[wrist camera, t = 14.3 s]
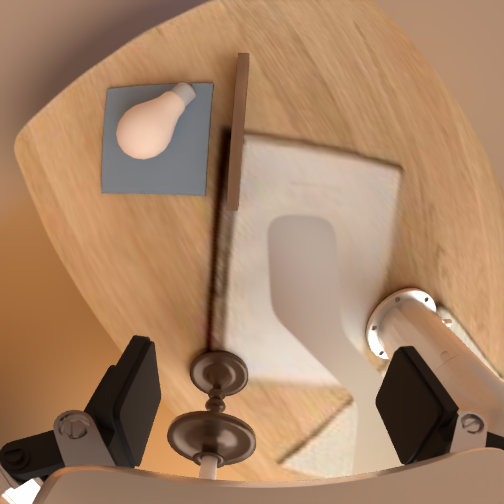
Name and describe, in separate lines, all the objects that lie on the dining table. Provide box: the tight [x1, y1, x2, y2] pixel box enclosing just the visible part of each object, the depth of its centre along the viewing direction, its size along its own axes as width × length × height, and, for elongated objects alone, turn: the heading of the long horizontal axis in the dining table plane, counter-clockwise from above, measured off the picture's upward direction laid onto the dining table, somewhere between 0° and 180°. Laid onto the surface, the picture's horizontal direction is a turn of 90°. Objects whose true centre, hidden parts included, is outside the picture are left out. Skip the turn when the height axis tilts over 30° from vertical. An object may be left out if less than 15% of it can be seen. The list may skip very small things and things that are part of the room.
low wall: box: [226, 53, 249, 211], centre depth 32 cm, size 1×18×4 cm, turn 176°
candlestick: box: [167, 351, 256, 480], centre depth 28 cm, size 11×11×35 cm
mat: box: [102, 83, 214, 196], centre depth 34 cm, size 14×14×1 cm
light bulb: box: [116, 82, 196, 159], centre depth 30 cm, size 7×7×11 cm
